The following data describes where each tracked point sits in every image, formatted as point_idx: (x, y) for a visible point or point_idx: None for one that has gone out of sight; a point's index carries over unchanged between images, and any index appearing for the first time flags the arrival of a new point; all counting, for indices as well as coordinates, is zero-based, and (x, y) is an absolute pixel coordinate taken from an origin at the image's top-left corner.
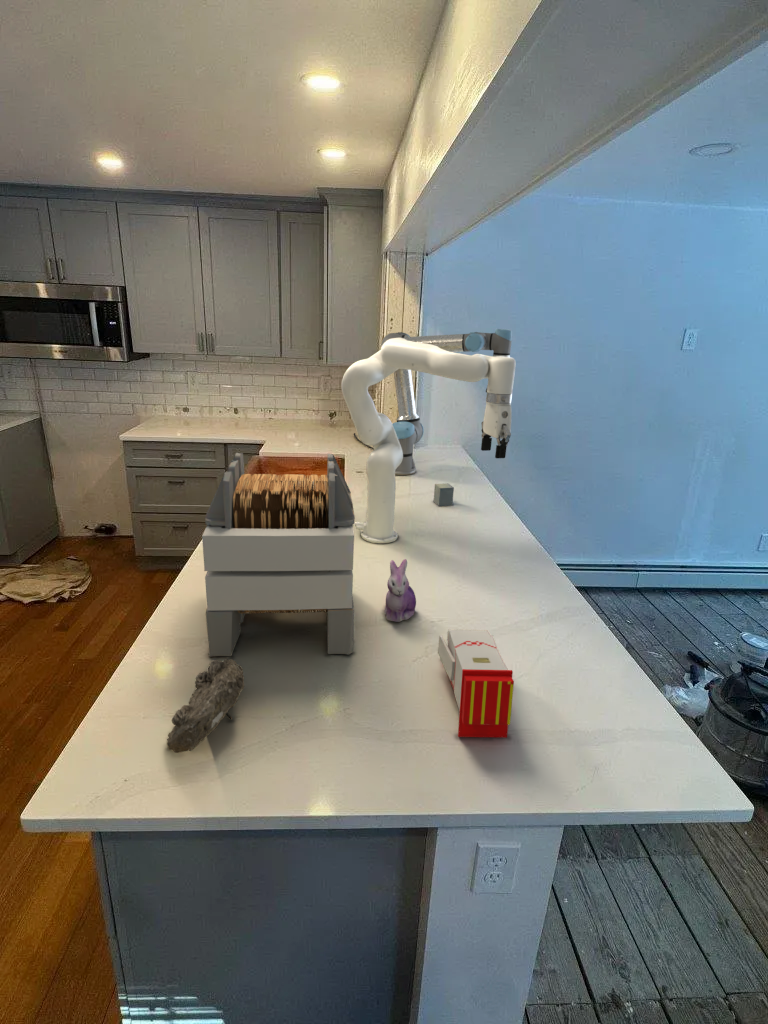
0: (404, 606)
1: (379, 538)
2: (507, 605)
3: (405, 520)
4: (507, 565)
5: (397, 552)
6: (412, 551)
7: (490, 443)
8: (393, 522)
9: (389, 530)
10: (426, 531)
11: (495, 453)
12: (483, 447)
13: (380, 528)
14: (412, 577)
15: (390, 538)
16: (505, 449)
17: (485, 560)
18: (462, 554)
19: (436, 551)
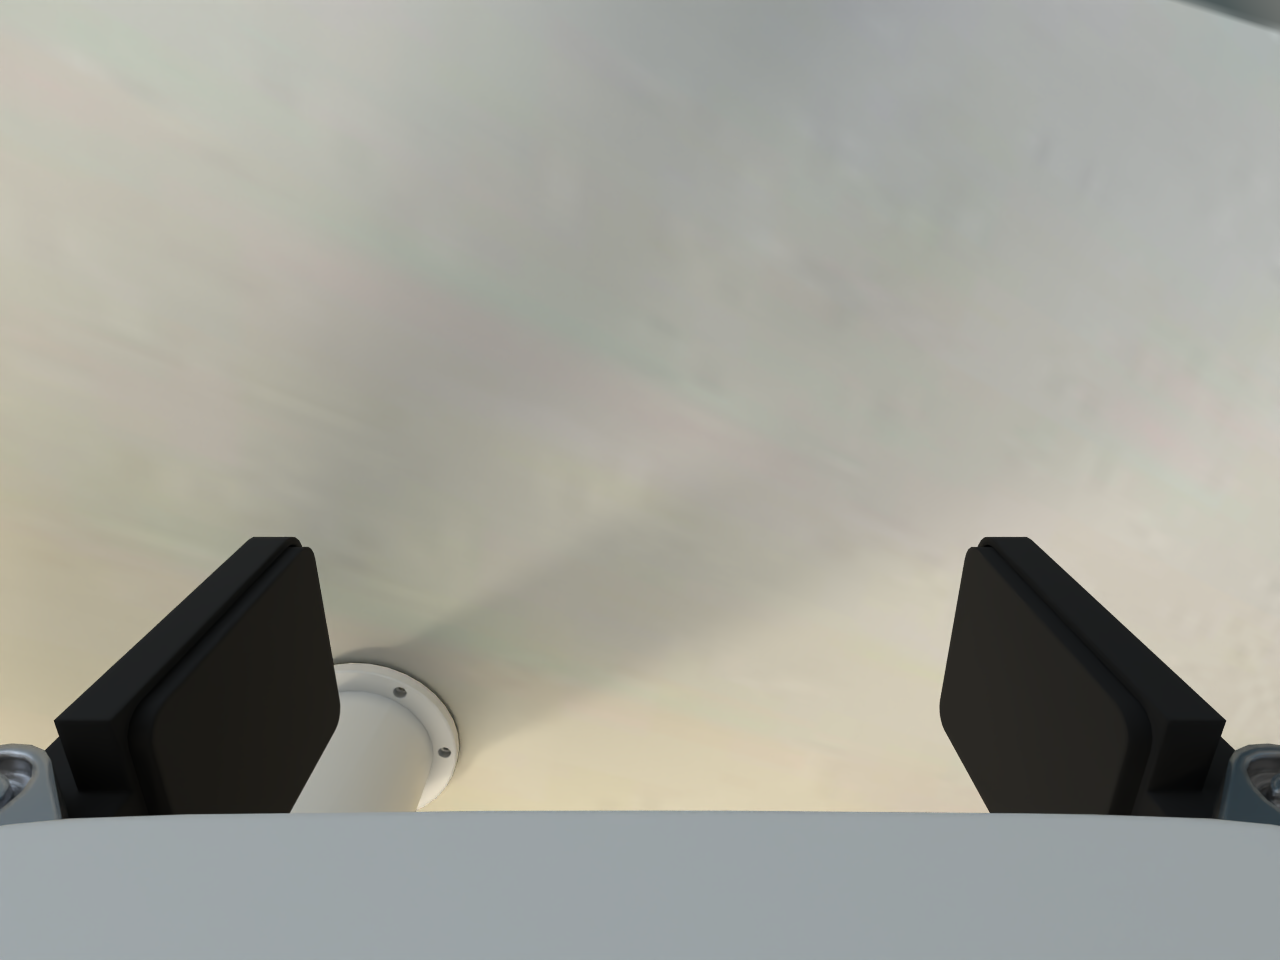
0: None
1: (431, 766)
2: (1226, 451)
3: (117, 552)
4: (853, 230)
5: (567, 711)
6: (567, 647)
7: (237, 652)
8: (370, 752)
9: (410, 750)
10: (298, 494)
11: (984, 787)
12: (312, 742)
13: (417, 805)
14: (832, 725)
15: (430, 719)
16: (1135, 659)
17: (756, 329)
18: (651, 422)
19: (587, 539)
